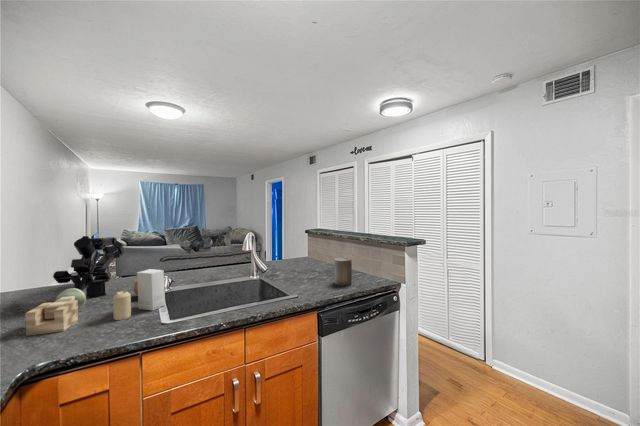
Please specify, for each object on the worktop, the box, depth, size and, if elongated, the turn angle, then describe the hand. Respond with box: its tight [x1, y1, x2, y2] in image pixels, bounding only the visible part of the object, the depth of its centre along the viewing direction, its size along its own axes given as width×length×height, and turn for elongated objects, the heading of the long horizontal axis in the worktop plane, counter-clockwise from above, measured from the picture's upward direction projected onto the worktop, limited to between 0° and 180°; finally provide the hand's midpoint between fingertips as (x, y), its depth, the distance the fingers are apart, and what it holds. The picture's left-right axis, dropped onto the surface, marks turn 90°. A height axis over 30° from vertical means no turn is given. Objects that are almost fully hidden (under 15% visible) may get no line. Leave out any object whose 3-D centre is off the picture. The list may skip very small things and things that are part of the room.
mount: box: [25, 300, 79, 336], centre depth 98 cm, size 10×10×8 cm
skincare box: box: [136, 268, 166, 311], centre depth 117 cm, size 8×7×16 cm
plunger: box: [44, 287, 87, 319], centre depth 104 cm, size 14×9×9 cm, turn 19°
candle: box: [112, 290, 132, 321], centre depth 107 cm, size 6×6×10 cm
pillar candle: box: [333, 256, 353, 287], centre depth 154 cm, size 10×10×15 cm
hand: (77, 293), depth 114 cm, fingers closed
